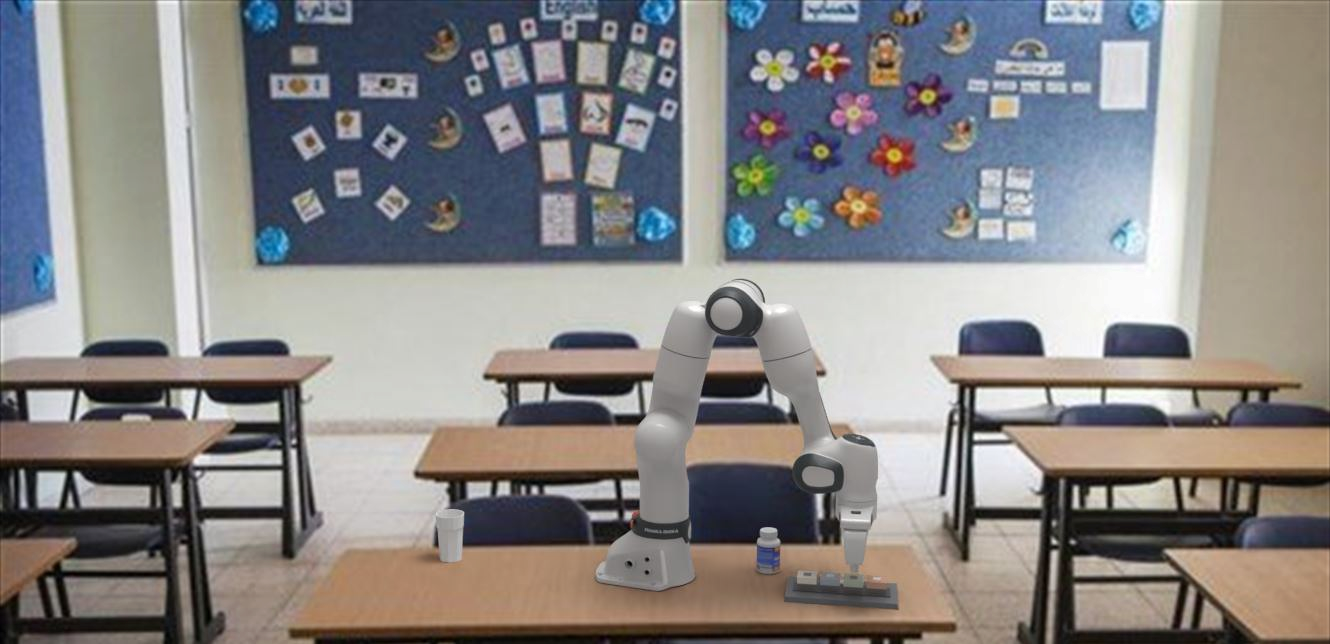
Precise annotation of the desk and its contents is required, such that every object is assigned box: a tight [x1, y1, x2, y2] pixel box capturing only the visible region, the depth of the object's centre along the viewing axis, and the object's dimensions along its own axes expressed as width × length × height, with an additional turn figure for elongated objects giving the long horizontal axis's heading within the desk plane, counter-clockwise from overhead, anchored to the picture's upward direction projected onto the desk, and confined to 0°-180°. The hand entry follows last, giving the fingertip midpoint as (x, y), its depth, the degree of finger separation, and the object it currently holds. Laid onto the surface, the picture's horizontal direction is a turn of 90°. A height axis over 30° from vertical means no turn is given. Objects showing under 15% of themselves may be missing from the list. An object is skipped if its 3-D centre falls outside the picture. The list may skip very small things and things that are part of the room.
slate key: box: [819, 571, 841, 586], centre depth 272 cm, size 4×4×2 cm
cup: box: [435, 508, 465, 564], centre depth 292 cm, size 7×7×11 cm
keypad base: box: [784, 575, 899, 610], centre depth 272 cm, size 24×12×2 cm, turn 81°
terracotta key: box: [866, 574, 888, 589], centre depth 270 cm, size 4×4×2 cm
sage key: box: [843, 573, 864, 588], centre depth 271 cm, size 4×4×2 cm
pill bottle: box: [756, 526, 781, 575], centre depth 286 cm, size 5×5×10 cm
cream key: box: [796, 569, 818, 585], centre depth 273 cm, size 4×4×2 cm
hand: (854, 570), depth 271 cm, fingers closed
